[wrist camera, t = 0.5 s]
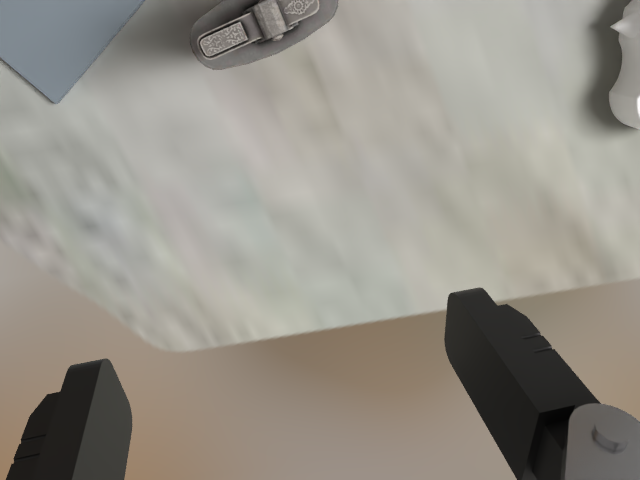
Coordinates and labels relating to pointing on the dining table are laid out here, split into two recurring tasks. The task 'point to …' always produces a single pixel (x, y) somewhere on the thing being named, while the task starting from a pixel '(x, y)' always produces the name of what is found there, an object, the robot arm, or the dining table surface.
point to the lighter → (255, 29)
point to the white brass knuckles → (628, 68)
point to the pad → (58, 38)
